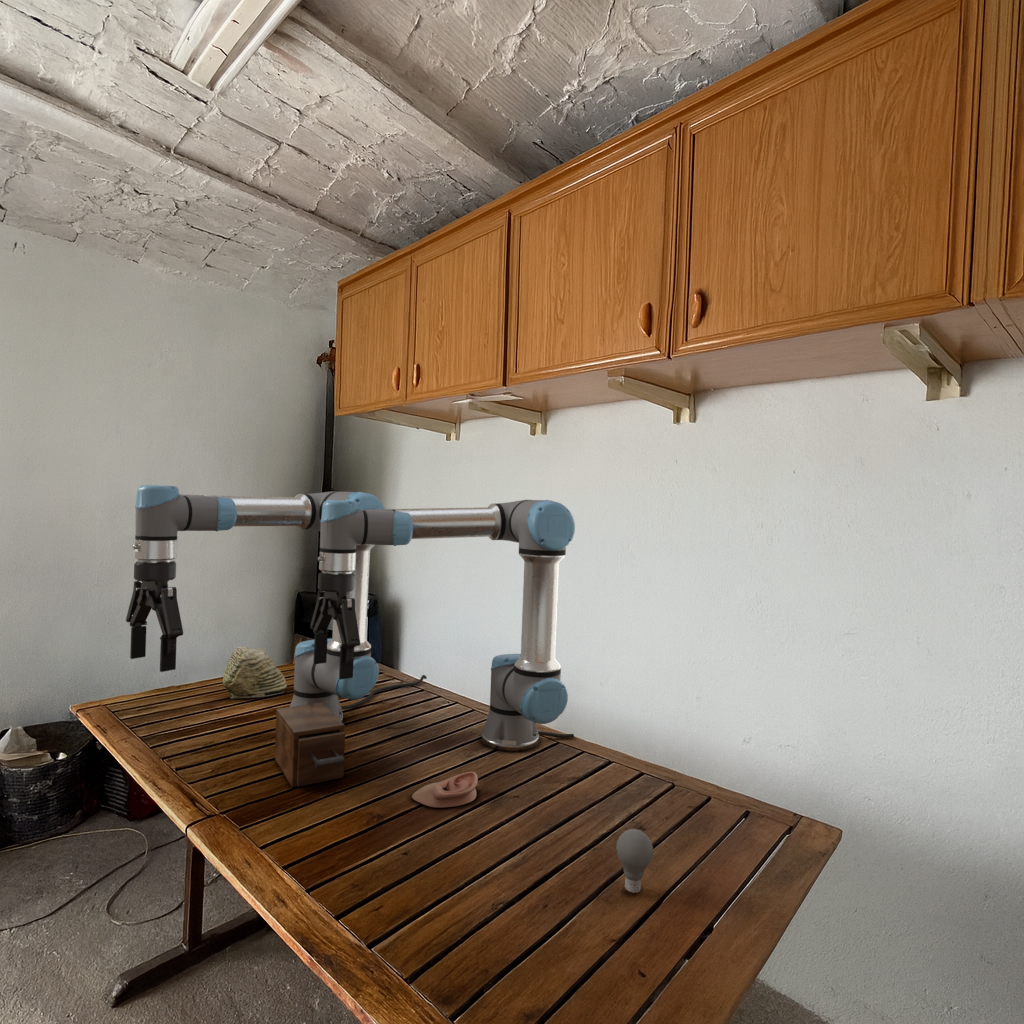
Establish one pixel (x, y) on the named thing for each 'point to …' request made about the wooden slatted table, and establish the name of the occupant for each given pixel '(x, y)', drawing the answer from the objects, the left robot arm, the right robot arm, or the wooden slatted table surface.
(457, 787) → the anatomical model
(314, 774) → the drawer
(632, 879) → the light bulb
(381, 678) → the wooden slatted table surface
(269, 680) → the fossil
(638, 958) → the wooden slatted table surface
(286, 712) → the cabinet
